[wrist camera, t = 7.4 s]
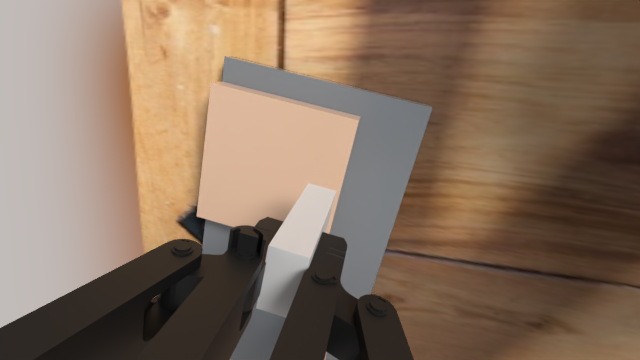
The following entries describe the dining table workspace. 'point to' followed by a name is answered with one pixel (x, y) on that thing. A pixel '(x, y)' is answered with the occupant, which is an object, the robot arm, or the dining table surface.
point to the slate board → (358, 187)
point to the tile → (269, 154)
